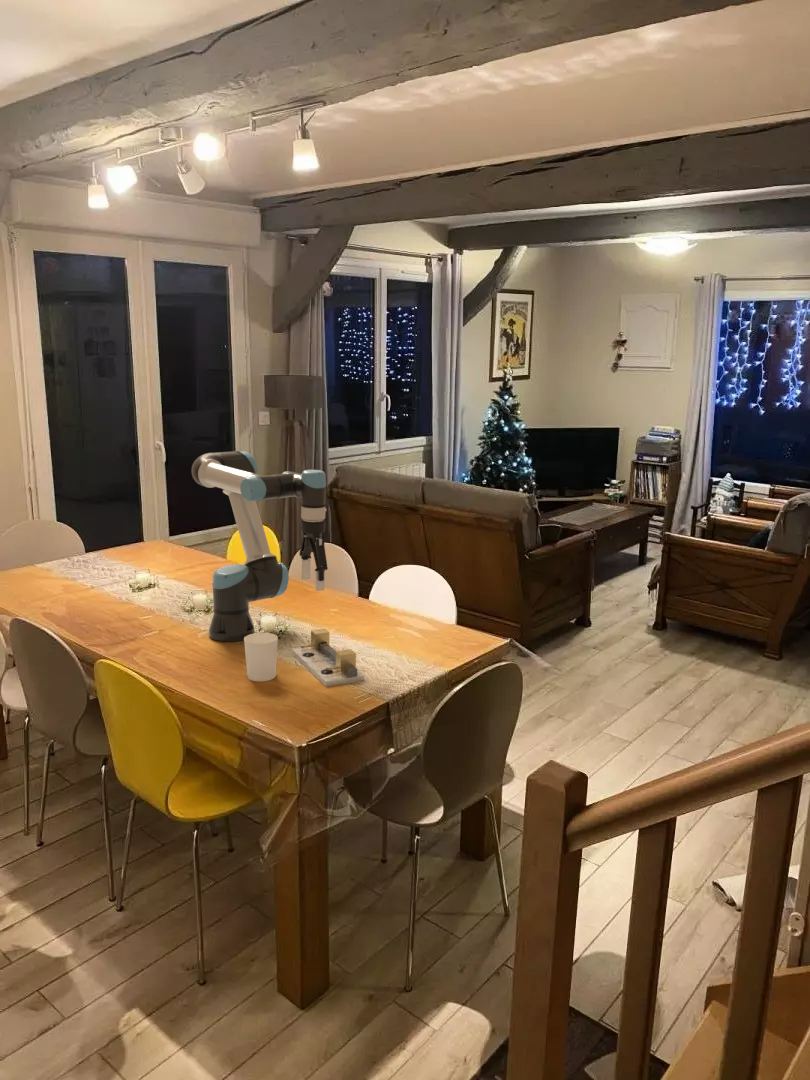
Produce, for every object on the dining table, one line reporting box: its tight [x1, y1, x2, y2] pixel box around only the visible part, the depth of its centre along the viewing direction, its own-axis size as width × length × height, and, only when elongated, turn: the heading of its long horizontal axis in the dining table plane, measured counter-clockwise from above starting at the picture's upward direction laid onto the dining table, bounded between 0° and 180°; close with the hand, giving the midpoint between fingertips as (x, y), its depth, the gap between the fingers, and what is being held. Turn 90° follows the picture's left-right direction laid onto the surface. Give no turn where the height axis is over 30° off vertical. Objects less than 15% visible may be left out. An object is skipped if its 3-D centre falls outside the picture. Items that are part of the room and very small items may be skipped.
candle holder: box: [243, 632, 279, 683], centre depth 242 cm, size 10×10×12 cm
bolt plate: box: [291, 642, 365, 687], centre depth 251 cm, size 12×30×7 cm, turn 26°
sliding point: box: [300, 628, 330, 649], centre depth 263 cm, size 9×4×5 cm, turn 116°
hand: (312, 584), depth 263 cm, fingers open, 13 cm apart
